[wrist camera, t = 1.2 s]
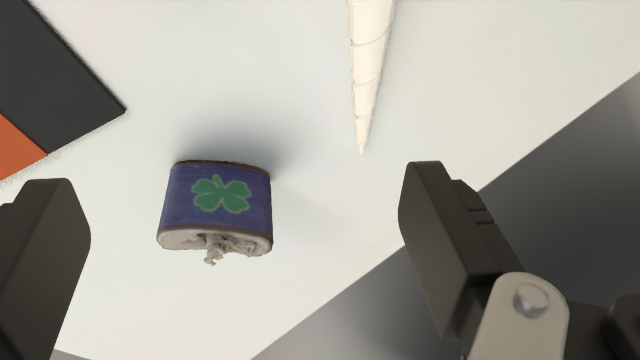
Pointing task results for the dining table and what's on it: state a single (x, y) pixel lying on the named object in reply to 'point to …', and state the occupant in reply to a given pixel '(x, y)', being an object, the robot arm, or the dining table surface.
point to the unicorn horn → (367, 57)
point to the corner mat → (43, 90)
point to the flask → (217, 209)
